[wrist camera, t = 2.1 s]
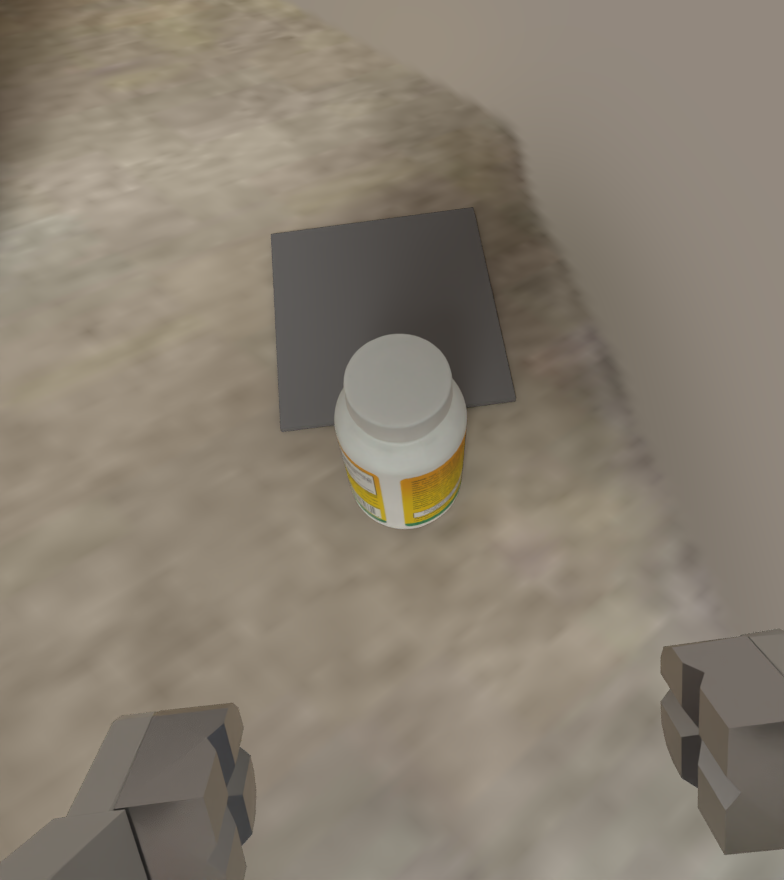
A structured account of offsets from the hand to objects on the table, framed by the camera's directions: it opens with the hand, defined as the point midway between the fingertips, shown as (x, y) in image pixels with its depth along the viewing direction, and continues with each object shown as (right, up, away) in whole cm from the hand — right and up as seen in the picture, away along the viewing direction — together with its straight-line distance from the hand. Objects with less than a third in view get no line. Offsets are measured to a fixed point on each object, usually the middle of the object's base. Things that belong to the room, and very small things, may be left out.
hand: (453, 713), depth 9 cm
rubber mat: (-1, +11, +29) cm, 31 cm away
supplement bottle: (0, +2, +25) cm, 25 cm away
